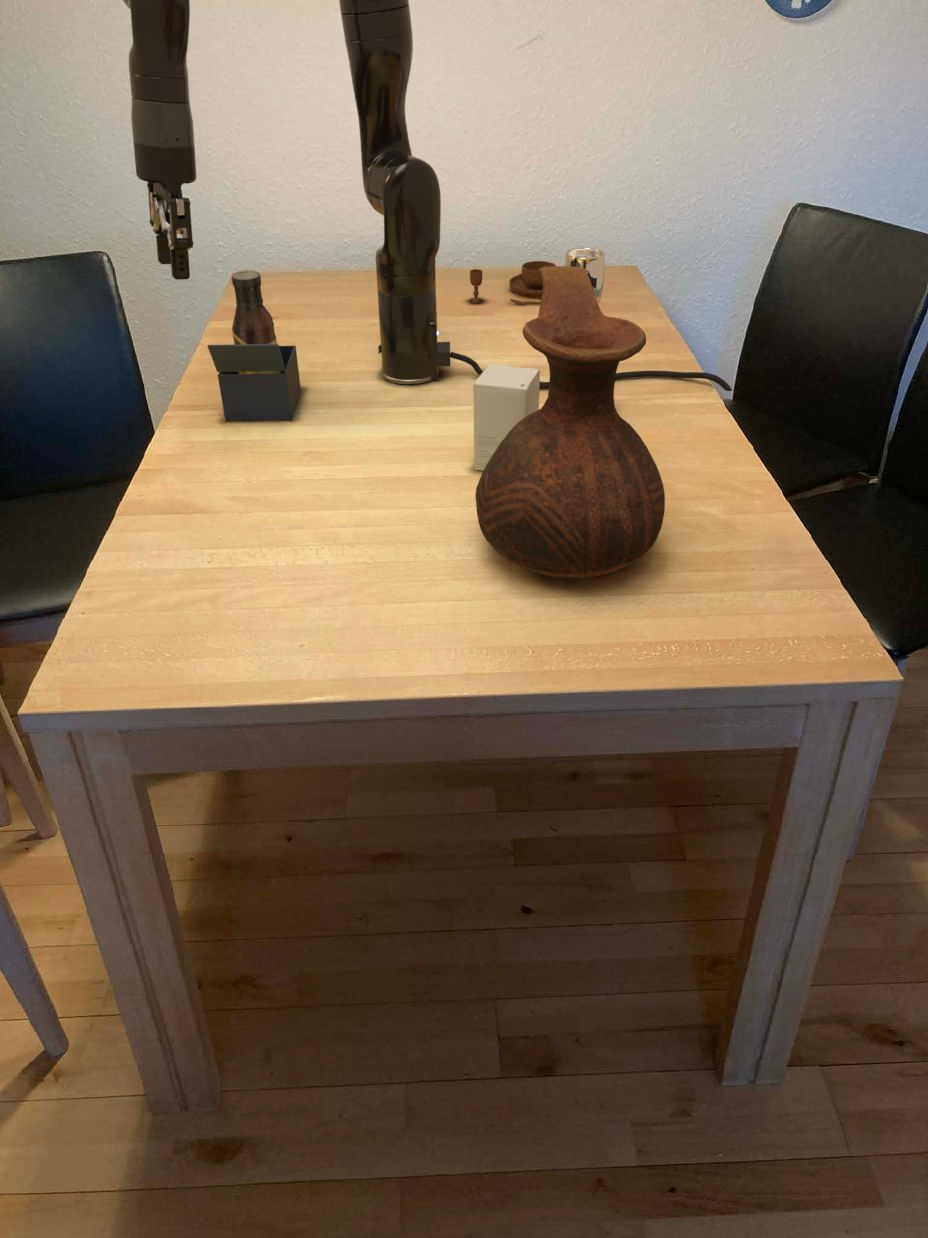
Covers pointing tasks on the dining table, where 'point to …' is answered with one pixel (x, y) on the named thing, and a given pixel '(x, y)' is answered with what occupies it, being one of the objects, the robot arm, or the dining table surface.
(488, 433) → the white packaging box
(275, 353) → the flap
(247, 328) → the sauce bottle
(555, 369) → the jug
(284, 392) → the carton
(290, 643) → the dining table surface
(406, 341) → the robot arm
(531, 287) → the place setting
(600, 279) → the beer glass
